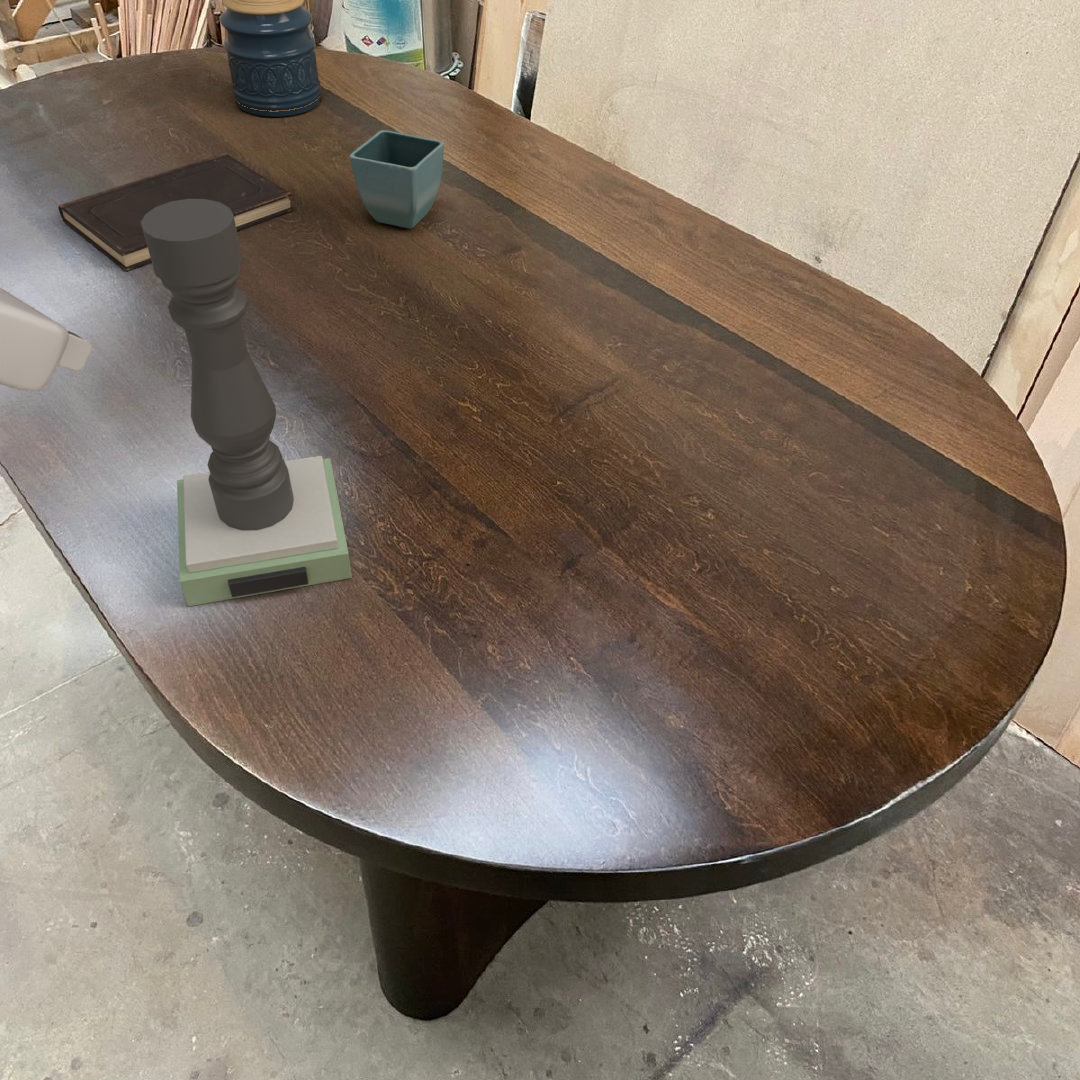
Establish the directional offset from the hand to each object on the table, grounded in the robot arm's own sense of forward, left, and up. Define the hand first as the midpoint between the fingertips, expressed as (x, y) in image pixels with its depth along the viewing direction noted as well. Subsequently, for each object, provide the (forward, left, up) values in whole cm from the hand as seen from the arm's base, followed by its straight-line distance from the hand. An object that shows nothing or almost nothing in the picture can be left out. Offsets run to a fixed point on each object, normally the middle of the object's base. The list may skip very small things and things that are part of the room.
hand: (30, 322), depth 55 cm
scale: (+9, +7, -27) cm, 30 cm away
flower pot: (+30, +61, -28) cm, 74 cm away
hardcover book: (+3, +67, -28) cm, 73 cm away
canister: (+18, +101, -28) cm, 106 cm away
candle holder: (+9, +8, -24) cm, 26 cm away
